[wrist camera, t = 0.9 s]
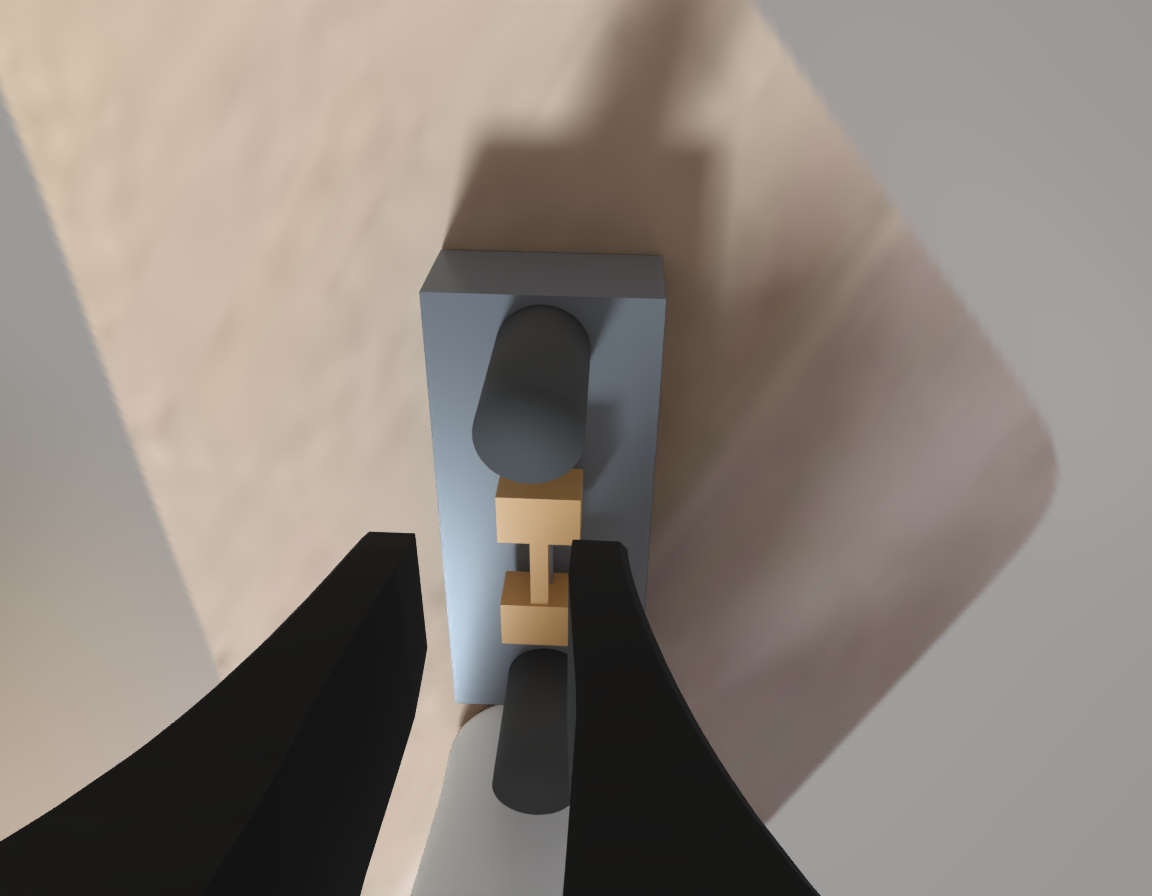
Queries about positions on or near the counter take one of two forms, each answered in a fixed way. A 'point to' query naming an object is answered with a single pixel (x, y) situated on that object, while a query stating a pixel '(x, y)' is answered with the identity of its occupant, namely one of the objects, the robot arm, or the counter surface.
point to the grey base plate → (612, 441)
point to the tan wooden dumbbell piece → (538, 556)
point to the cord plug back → (534, 735)
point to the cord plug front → (534, 396)
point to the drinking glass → (488, 829)
